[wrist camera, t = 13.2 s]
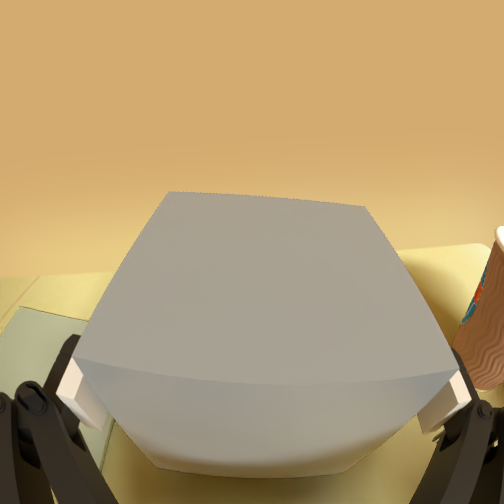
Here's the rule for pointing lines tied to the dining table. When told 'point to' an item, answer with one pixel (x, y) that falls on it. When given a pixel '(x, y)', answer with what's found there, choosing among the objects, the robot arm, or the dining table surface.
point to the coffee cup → (485, 324)
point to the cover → (262, 338)
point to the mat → (43, 361)
